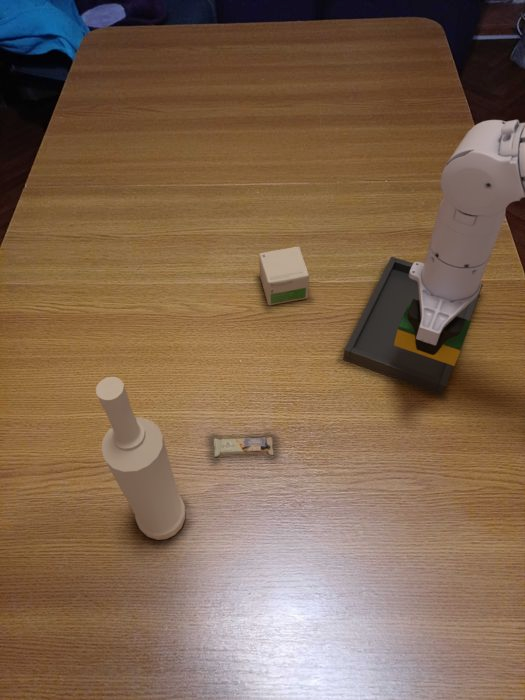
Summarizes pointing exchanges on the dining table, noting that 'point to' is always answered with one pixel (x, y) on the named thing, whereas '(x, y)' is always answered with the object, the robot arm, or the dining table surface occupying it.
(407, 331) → the sponge
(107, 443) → the bottle
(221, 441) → the granola bar
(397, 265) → the tray
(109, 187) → the dining table surface
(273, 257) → the small box
